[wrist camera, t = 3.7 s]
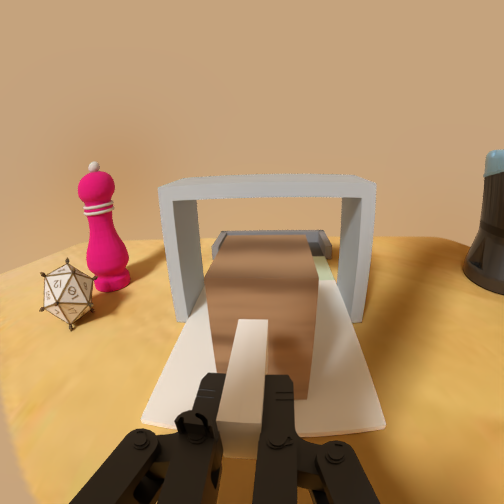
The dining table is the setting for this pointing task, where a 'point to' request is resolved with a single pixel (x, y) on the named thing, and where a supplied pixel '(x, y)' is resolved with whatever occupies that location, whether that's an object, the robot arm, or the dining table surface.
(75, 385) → the dining table surface
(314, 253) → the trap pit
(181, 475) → the robot arm
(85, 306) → the game die
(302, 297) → the walnut block
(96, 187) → the pepper mill
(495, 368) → the dining table surface
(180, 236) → the tunnel
